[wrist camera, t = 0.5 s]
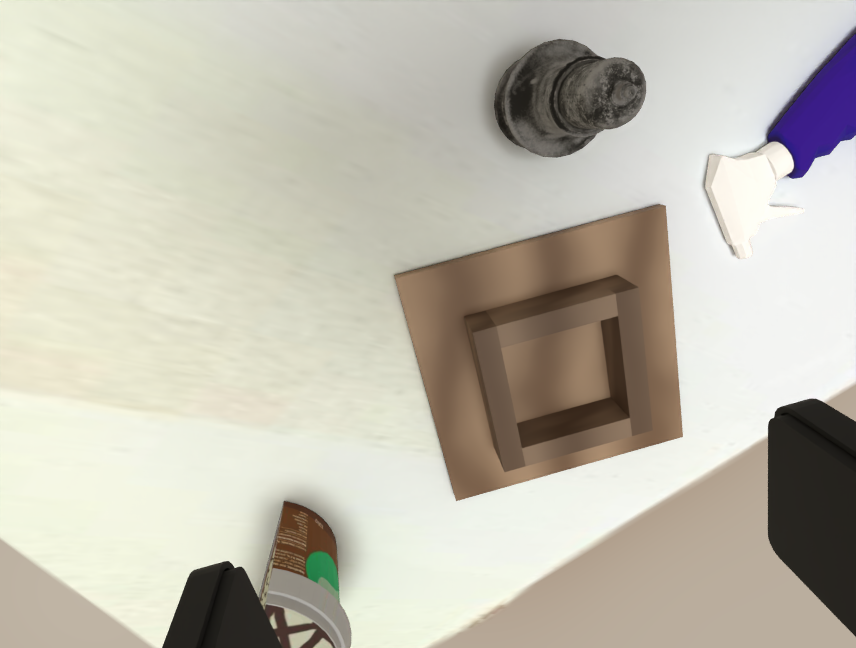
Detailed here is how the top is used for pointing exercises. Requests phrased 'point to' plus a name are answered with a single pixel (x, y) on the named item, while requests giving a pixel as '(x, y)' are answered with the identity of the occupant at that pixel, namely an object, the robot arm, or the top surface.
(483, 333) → the walnut holder
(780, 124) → the spray bottle
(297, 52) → the top surface
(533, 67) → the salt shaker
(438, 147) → the top surface
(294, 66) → the top surface
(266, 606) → the food container
